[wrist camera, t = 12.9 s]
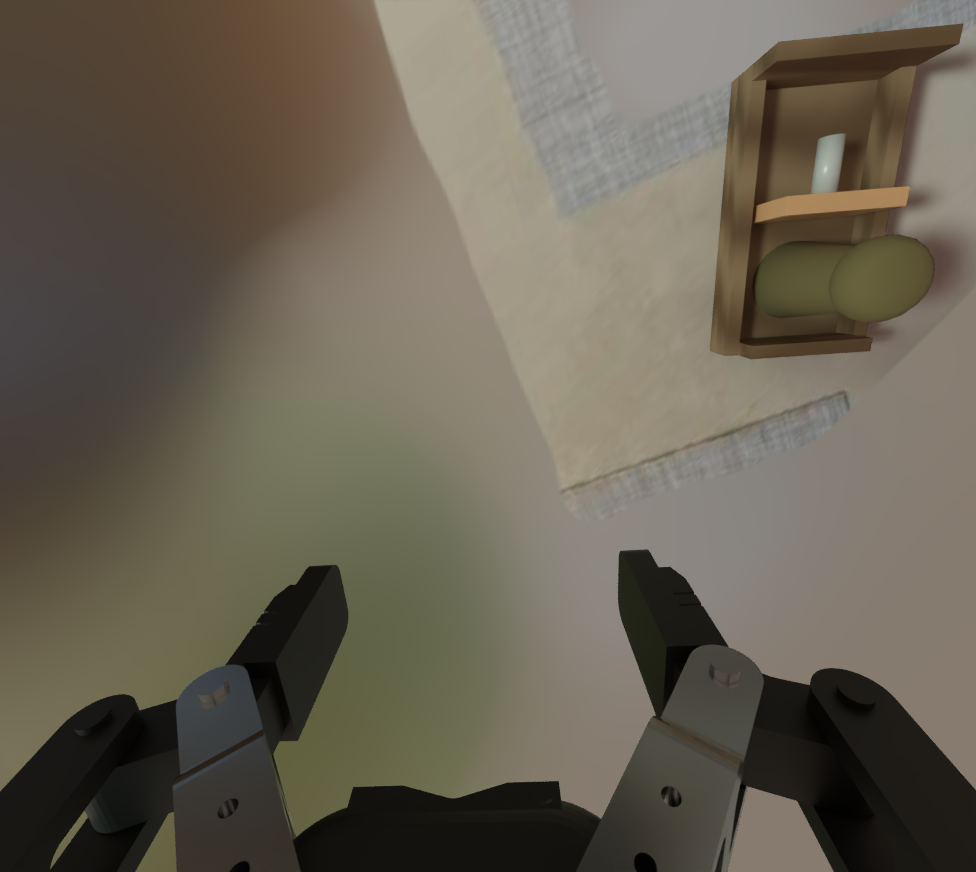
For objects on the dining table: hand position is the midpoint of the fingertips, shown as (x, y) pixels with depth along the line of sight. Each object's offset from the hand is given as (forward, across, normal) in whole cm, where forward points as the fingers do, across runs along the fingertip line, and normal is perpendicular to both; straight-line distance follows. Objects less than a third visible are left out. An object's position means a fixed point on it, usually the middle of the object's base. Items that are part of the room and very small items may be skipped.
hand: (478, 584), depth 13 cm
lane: (+30, -25, -11) cm, 41 cm away
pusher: (+29, -25, -13) cm, 40 cm away
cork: (+29, -25, -6) cm, 39 cm away
